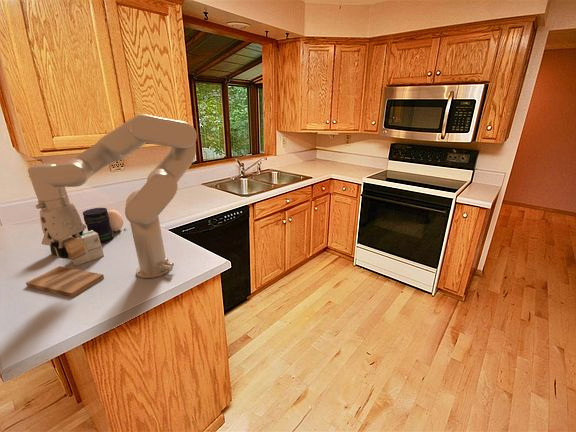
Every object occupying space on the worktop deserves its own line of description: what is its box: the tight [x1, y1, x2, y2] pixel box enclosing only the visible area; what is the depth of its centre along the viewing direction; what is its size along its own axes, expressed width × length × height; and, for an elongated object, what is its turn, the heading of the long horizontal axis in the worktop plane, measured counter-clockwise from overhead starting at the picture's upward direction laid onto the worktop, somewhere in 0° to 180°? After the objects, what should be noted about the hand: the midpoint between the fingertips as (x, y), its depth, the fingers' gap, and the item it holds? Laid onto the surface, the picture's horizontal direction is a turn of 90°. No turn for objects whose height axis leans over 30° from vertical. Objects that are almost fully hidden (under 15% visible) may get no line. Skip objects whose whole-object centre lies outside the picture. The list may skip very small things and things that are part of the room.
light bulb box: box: [70, 230, 105, 266], centre depth 120 cm, size 11×7×11 cm, turn 141°
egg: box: [107, 209, 124, 232], centre depth 147 cm, size 8×8×11 cm
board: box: [25, 265, 105, 298], centre depth 104 cm, size 22×12×2 cm, turn 73°
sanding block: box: [55, 237, 86, 261], centre depth 97 cm, size 7×4×6 cm, turn 73°
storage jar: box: [82, 207, 115, 245], centre depth 136 cm, size 10×10×15 cm
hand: (71, 253), depth 98 cm, fingers closed on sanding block, 4 cm apart
